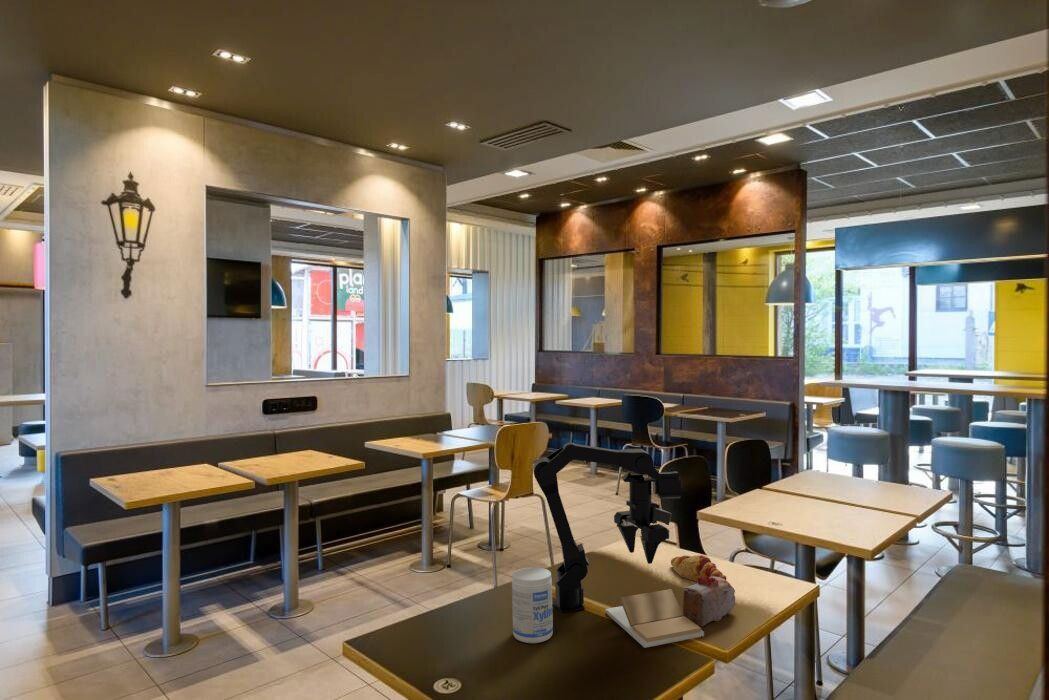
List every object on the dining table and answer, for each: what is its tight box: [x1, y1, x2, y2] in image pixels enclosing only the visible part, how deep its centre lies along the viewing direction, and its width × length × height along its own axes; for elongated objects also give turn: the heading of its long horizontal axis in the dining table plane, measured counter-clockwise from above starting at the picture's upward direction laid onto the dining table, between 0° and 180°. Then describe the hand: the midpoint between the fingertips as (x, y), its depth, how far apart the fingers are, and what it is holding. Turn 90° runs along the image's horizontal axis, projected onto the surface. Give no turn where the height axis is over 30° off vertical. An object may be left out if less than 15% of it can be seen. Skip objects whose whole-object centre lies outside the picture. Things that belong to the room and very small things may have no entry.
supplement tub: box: [511, 566, 554, 644], centre depth 149 cm, size 10×10×15 cm
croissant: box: [670, 554, 727, 583], centre depth 183 cm, size 21×10×8 cm, turn 31°
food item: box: [682, 576, 736, 628], centre depth 156 cm, size 14×8×10 cm, turn 131°
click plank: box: [619, 588, 684, 627], centre depth 153 cm, size 14×7×1 cm
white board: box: [605, 605, 705, 649], centre depth 153 cm, size 16×20×2 cm
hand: (640, 557), depth 165 cm, fingers open, 9 cm apart
